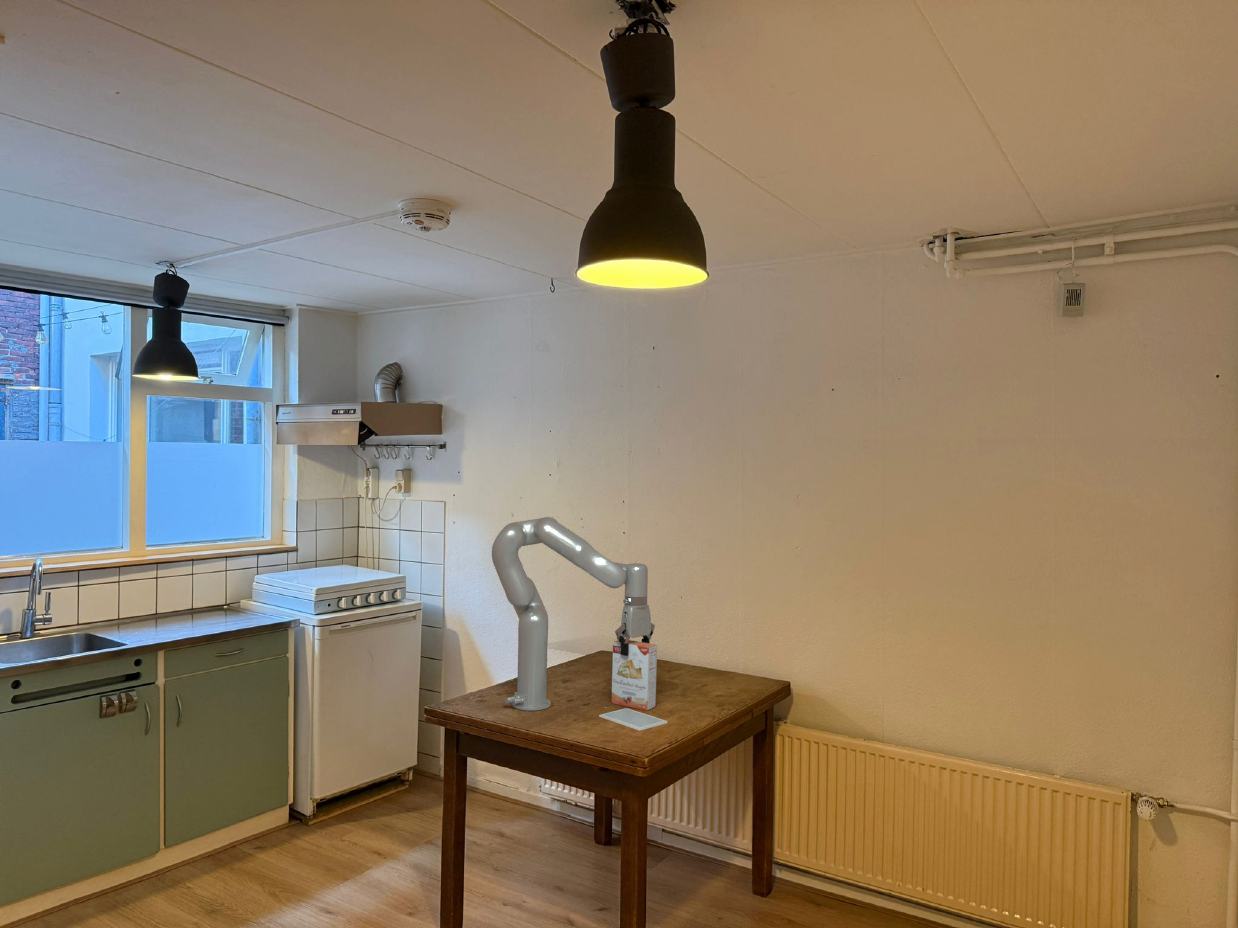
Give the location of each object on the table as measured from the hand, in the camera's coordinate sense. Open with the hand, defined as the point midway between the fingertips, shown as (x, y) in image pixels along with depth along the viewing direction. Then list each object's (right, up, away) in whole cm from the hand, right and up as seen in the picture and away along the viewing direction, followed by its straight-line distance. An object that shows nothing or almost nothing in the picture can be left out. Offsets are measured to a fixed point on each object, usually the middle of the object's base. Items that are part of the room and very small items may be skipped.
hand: (635, 653), depth 272 cm
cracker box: (-1, -18, 0) cm, 18 cm away
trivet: (-1, -17, -16) cm, 23 cm away
